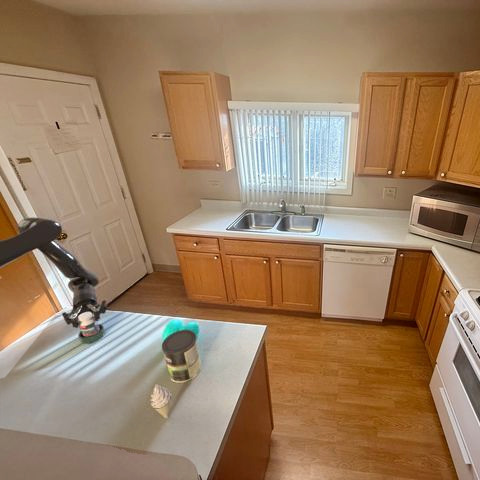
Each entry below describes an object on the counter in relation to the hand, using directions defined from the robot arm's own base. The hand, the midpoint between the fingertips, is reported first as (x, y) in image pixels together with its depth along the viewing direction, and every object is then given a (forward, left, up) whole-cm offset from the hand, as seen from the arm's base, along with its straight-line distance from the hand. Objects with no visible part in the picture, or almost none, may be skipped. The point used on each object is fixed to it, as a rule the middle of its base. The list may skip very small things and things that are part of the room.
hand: (86, 322), depth 97 cm
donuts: (+33, -13, -9) cm, 37 cm away
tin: (-1, +2, -9) cm, 9 cm away
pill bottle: (-1, +3, -7) cm, 8 cm away
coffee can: (+35, -27, -9) cm, 45 cm away
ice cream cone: (+31, -43, -9) cm, 54 cm away
